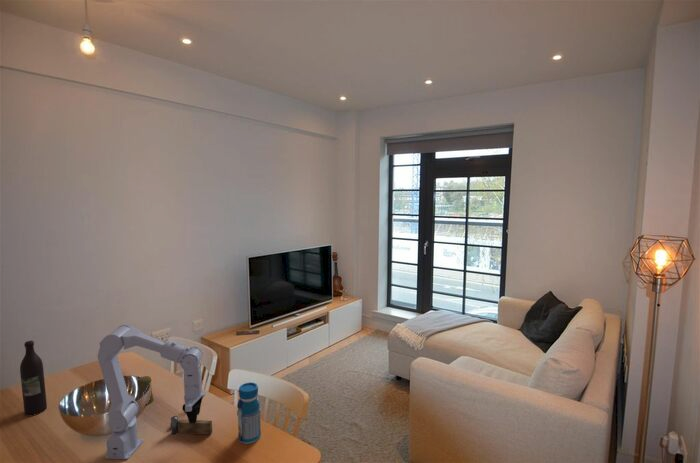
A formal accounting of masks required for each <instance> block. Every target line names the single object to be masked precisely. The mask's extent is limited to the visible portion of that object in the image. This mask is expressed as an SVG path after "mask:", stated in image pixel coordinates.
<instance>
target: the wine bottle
mask: <svg viewBox="0 0 700 463" xmlns="http://www.w3.org/2000/svg"><path fill="white" fill-rule="evenodd" d="M34 345H35V341H34V340H27V341H25V342H24V348H25V355H24V357H23V359H22V360H21V363H20V366H19V374H20V383H21V391H22V401H23V403H22V404H23V411H24V412H23V413H24V415H25V416H27V415H32V416H35V415H34V414H36V415H38V414H37V413H39V414H41V413H43V412H45V411H46V410H47V407H48V403H47V393H46V383H45V382H46V381H45V372H44V363H43V360H42V359H41V357H40V356H39V355H38V354H37V352H35V347H34ZM45 409H46V410H45ZM44 410H45V411H44ZM42 411H43V412H42ZM40 412H41V413H40Z"/></svg>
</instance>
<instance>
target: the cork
mask: <svg viewBox="0 0 700 463" xmlns="http://www.w3.org/2000/svg"><path fill="white" fill-rule="evenodd" d="M149 383H150V384H152V377H151V376H148V375H144V376H141V377H140V378H138V379H137V386H138V394H137V396H138V397H140V396H141V395H142V394H143V392H144V391H145V390H146V388H147V386H148V385H149ZM138 397H137V398H138ZM152 403H154V395H153V390H152V389H151V396H150V400H149V402H148V405H150V404H152Z"/></svg>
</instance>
